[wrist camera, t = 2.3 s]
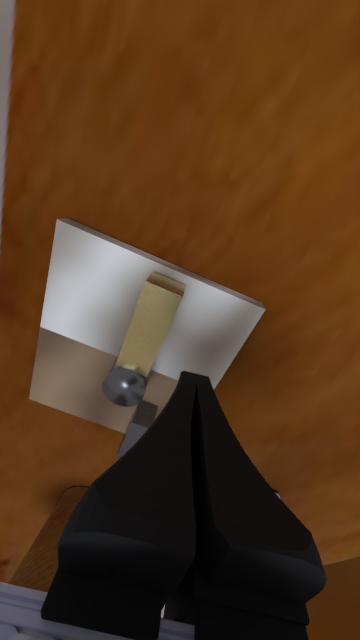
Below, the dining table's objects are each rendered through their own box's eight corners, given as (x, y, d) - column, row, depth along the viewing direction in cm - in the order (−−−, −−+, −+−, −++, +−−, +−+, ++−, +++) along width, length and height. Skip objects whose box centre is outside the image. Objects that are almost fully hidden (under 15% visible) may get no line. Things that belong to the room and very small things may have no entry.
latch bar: (144, 386, 19) (136, 412, 17) (111, 373, 19) (98, 397, 16) (190, 287, 15) (187, 303, 13) (148, 269, 15) (137, 282, 13)
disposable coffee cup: (66, 466, 28) (-23, 635, 17) (138, 499, 29) (99, 673, 18) (41, 501, 32) (-44, 656, 21) (106, 529, 33) (58, 686, 22)
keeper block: (157, 405, 20) (152, 430, 18) (141, 437, 22) (134, 462, 20) (140, 399, 20) (132, 422, 18) (125, 431, 22) (116, 456, 20)
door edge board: (261, 302, 17) (265, 309, 16) (175, 440, 24) (174, 451, 23) (67, 218, 16) (57, 219, 14) (37, 389, 23) (29, 398, 21)
